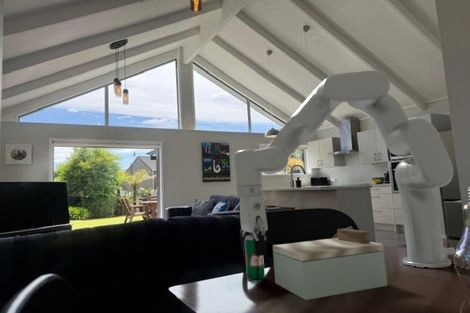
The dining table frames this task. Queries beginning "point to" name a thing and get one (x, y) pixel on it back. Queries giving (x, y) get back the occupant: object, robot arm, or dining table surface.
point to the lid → (330, 246)
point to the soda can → (253, 260)
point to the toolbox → (330, 274)
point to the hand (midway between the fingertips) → (254, 252)
